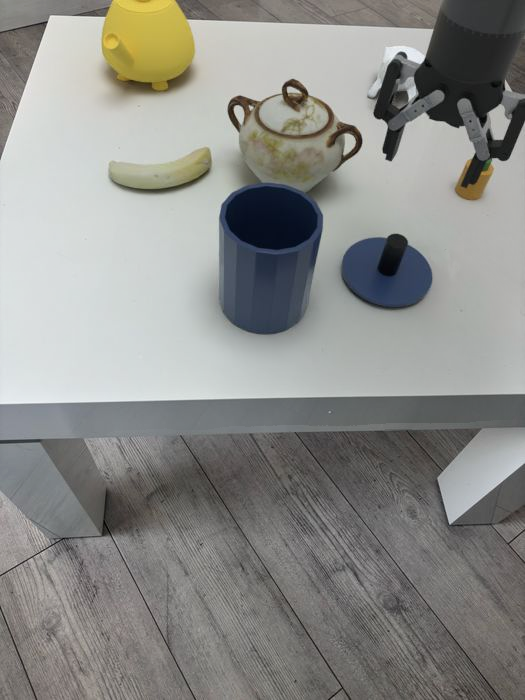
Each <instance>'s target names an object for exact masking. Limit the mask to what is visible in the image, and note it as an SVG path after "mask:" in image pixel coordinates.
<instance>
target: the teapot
mask: <svg viewBox="0 0 525 700" xmlns="http://www.w3.org/2000/svg"><path fill="white" fill-rule="evenodd" d="M195 45H196V43H195V39H194V35H193V31H192V29H191V26H190V23H189V21H188V19H187V18H186V15H185V14H184V12H183V10H182V9H181V7H180V6H179V4H178V3H177V1H176V0H112V2H111V3H110V5H109V8H108V11H107V12H106V16H105V18H104V21H103V25H102V31H101V45H100V46H101V52H102V56H103V59H104V60H105V61H106V63H107V64H108V65H109V66H110V67H111V69H113V70H114V71H115V72H117V75H116V78H117V79H118V80H119V81H122V82H128V81H131V80H132V81H135V82H141V83H151V87H152V89H153V90H155V91H158V92H159V91H161V92H162V91H166V90H167V89H168V88H169V84H168V81H170V80H173V79H175V78H177V77H179V76H180V75H182V74H183V73H184V72H185V71H186V70H187V69H188V68H189V67H190V65H191V63H192V62H193V60H194V58H195V54H196V46H195Z"/></svg>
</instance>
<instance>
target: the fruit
mask: <svg viewBox="0 0 525 700" xmlns="http://www.w3.org/2000/svg"><path fill="white" fill-rule="evenodd" d="M211 166H212V153H211V149H210V147H209V146H204V147H200V148H198V149H195V150H193V151H191V152H190V153H188V154H187V155H185V156H183V157H181V158H178V159H176V160H173V161H168V162H163V163H155V164H138V163H132V162H126V161H115V160H110V161H109V163H108V173H109V176H110V179H111V180H112V181H114V182H115V183H117V184H119V185H121V186H125V187H130V188H132V189H133V188H135V189H141V190H142V189H143V190H159V189H166V188H173V187H176V186H180V185H183V184H186V183H189V182H191V181H193V180H195V179H197V178H199V177H201V176H202V175H203V174H205V173H206V172H207V171H208V170H209V169H210V168H211Z"/></svg>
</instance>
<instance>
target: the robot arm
mask: <svg viewBox="0 0 525 700" xmlns="http://www.w3.org/2000/svg"><path fill="white" fill-rule="evenodd" d="M524 37H525V0H441V3H440V6H439V10H438V14H437V16H436V19H435V24H434V27H433V29H432V33H431V37H430V40H429V43H428V46H427V50H426V54H425V55H426V56H425V59H424V61H423V62H422V63H421V64H419V63H416V62H413V61H411V60H408V59H407V54H406V53H405V52H402V51H401V52H398V53H397V54H396V55H395V57H394V58H393V59H392V61H391V62H390V63H389V64H388V66H387V70H386V73H385V76H384V79H383V83H382V86H381V88H380V89H379V92H378V96H377V99H376V102H375V106H374V109H373V112H372V115H373V117H374V118H375V119H376V120H381V121H383V122H385V124H386V125H387V130H386V134H385V137H384V141H383V144H382V148H381V150H382V154H384V155H385V158H384V159H385V161H388V162H393V160H394V159H395V157H396V156H397V154H398V151H399V147H400V145H401V142H402V138H403V135H404V131H405V128H406V125H407V124H408V123H409V122H410V123H411V122H413V121H414V120H416V119H417V118H419V117H420V116H422V115H423V114H426V115H427V116H428V120H432V121H435V122H443V123H446V124H447V125H448V126H450V127H453V128H455V129H460V128H461V127H464V128H465V130H466V133H467V136H468V139H469V140H468V141H469V142H470V143H472V145H473V149H474V151H475V152H474V154H473V157H471V159H472V161H471V163H470V165H469V168H468V170H467V172H466V174H465V177H464V179H463V181H462V184H461V187H464V188H467V187H468V184H471V185H474V184H475V183H476V182H477V181H478V179H479V177H480V175H481V172H482V170H483V168H484V166H485V164H486V162H487V161H488V160H489V159H492V160H493V159H497V160H499V161H500V162H506V161H508V160H509V159H510V158H511V156H512V153H513V151H514V148H515V146H516V143H517V141H518V140H519V137H520V134H521V132H522V129H523V127H524V125H525V91H523V92H522V93H519V92H515V91H510V90H506V79H507V76H508V74H509V72H510V69H511V67H512V65H513V63H514V60H515V58H516V56H517V53H518V51H519V49H520V47H521V45H522V42H523V39H524ZM409 77H414V82H415V85H416V92H417V93H416V95H415V96H414V97H413V98H412V99H411V100H410V101H409V102H408V101H407V102H405V104H403V105H402V106H400V107H398V106H396V105H395V104H394V101H395V98H396V95H397V92H398V91H397V89H398V86H399V84H403V83H405V81H406V80H407V79H408V78H409ZM500 105H501V106H502V107H504V117H505V118H506V119H507V120H510V121H509V124H508V126H507V129H506V131H505V133H504V136H503V139H495V137H494V133H493V129H492V126H491V125H492V123H491V122H492V121H491V120H492V119H491V117H490V113H491V111H493V110H495V109H497V108H498V107H499V106H500Z"/></svg>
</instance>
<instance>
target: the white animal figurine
mask: <svg viewBox="0 0 525 700" xmlns="http://www.w3.org/2000/svg"><path fill="white" fill-rule="evenodd" d="M401 51H402V52H405V53H406V54H407V59H408V60H411V61H413V62H416V63H419V64H421V63H422V62H423V61H424V59H425V56H426V54H423V53H422V52H420V51H418V50H417V49H415V48H413V47H411V46H407V45H393V46H385V47H384V50H383V54H382V55H383V56H382V60H381V64H380V68H379V71H378V73H377V79H376V80H375V82H373V84H372V86H371V88H370V89H369V91H368V93H367V97H368V98H371V99H373V98H374V97H376V96H377V94H378V93H379V92H378V91H380V89H381V86H382V83H383V79H384V76H385V73H386V70H387V66H388V64H389V63H390V62H391V61H392V59H393V58H394V57H395V55H396V54H397V53H398V52H401ZM397 92H406V94H407V96H408V100H407V102H409V101H410V100H411V99H412V98H413V97H414V96H415V95H417V88H416V85H415V82H414V77H409V78H408V79H407V80H406V81H405V83H403V84H399V86H398V89H397Z"/></svg>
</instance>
